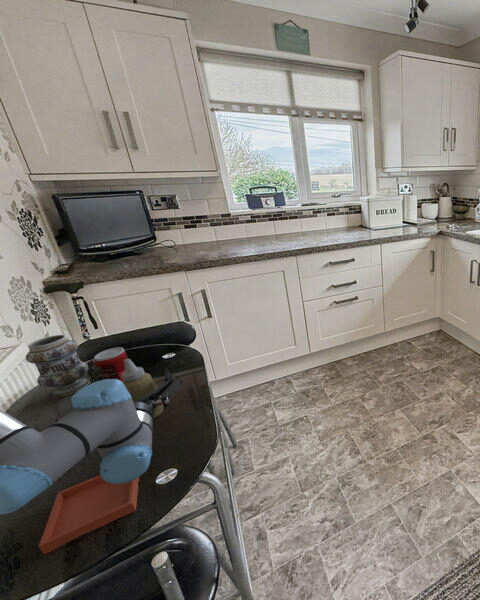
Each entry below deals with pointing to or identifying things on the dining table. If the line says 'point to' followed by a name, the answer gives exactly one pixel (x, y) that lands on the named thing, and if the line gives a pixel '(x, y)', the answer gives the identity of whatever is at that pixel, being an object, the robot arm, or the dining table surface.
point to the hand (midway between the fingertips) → (138, 382)
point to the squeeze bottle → (139, 383)
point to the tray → (87, 510)
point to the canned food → (111, 363)
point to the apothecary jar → (58, 364)
